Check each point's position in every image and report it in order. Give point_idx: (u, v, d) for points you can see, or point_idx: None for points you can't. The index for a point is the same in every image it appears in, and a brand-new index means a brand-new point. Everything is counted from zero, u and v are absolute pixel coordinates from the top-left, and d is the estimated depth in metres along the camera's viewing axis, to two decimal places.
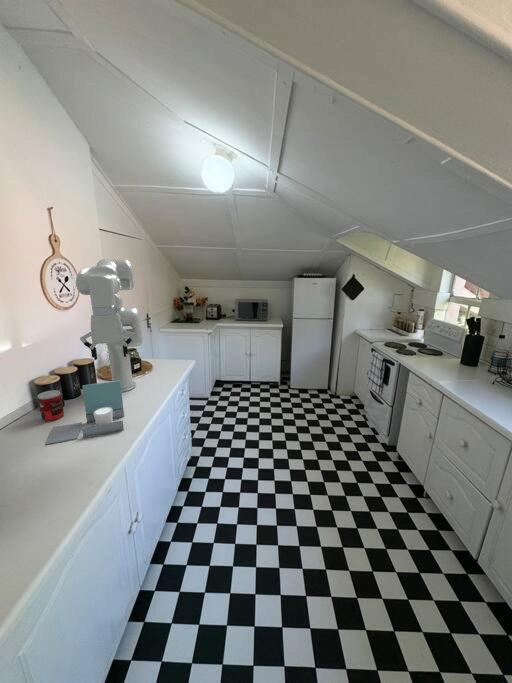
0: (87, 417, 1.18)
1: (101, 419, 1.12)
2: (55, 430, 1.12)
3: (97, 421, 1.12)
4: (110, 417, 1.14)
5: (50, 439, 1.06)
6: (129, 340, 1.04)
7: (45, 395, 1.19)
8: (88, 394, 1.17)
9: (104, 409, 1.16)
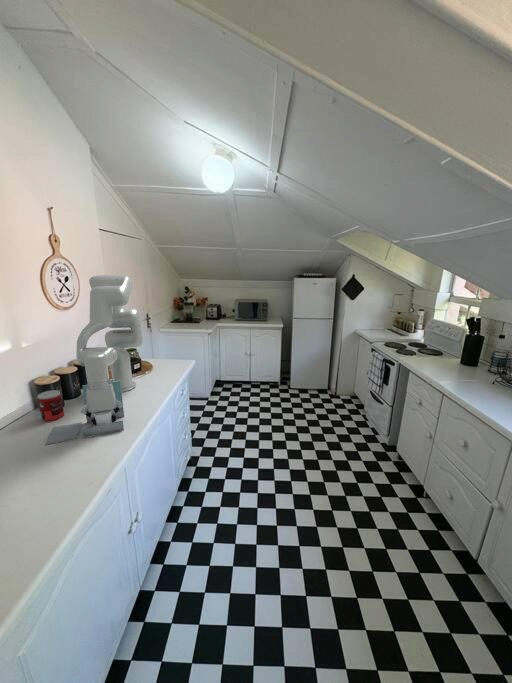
0: (87, 417, 1.18)
1: (101, 419, 1.12)
2: (55, 430, 1.12)
3: (97, 421, 1.12)
4: (110, 417, 1.14)
5: (50, 439, 1.06)
6: (117, 409, 1.16)
7: (45, 395, 1.19)
8: None
9: None
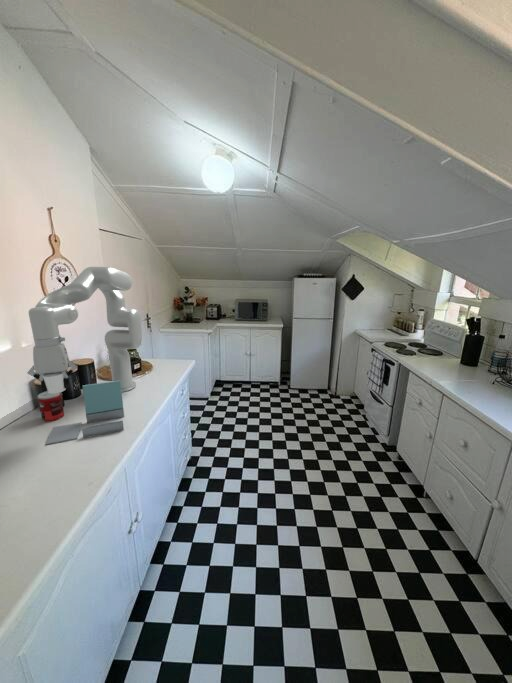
0: (87, 417, 1.18)
1: (51, 381, 1.02)
2: (55, 430, 1.12)
3: (46, 383, 1.02)
4: (62, 380, 1.04)
5: (50, 439, 1.06)
6: (70, 372, 1.06)
7: (45, 395, 1.19)
8: (88, 394, 1.17)
9: None
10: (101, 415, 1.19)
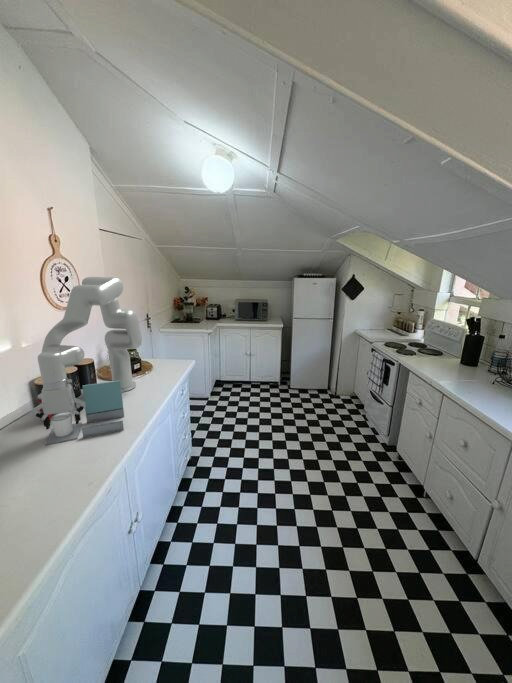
0: (87, 417, 1.18)
1: (58, 425, 1.07)
2: None
3: (54, 427, 1.07)
4: (69, 423, 1.09)
5: (50, 439, 1.06)
6: (81, 408, 1.10)
7: None
8: (88, 394, 1.17)
9: (63, 414, 1.10)
10: (101, 415, 1.19)
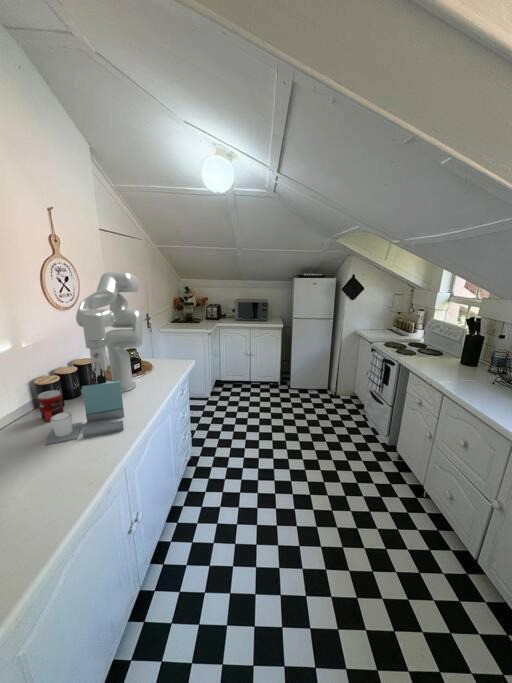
0: (87, 417, 1.18)
1: (58, 425, 1.07)
2: None
3: (54, 427, 1.07)
4: (69, 423, 1.09)
5: (50, 439, 1.06)
6: None
7: (45, 395, 1.19)
8: (88, 395, 1.16)
9: (63, 414, 1.10)
10: (101, 415, 1.19)
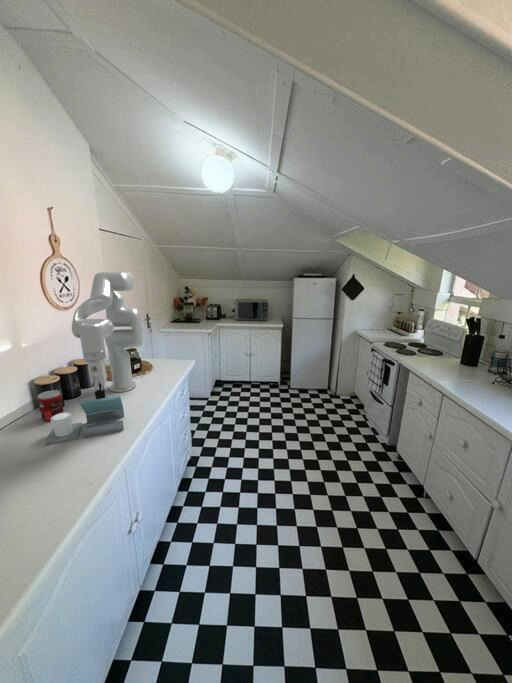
0: (87, 417, 1.18)
1: (58, 425, 1.07)
2: None
3: (54, 427, 1.07)
4: (69, 423, 1.09)
5: (50, 439, 1.06)
6: None
7: (45, 395, 1.19)
8: (86, 406, 1.12)
9: (63, 414, 1.10)
10: (101, 415, 1.19)
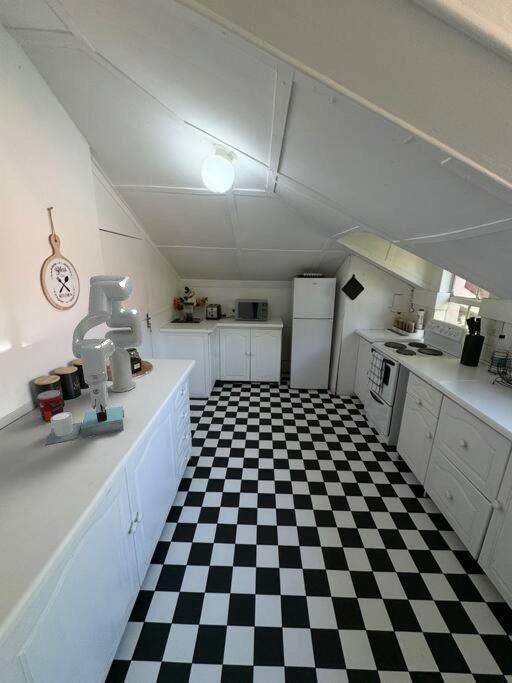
0: None
1: (58, 425, 1.07)
2: None
3: (54, 427, 1.07)
4: (69, 423, 1.09)
5: (50, 439, 1.06)
6: None
7: (45, 395, 1.19)
8: None
9: (63, 414, 1.10)
10: None
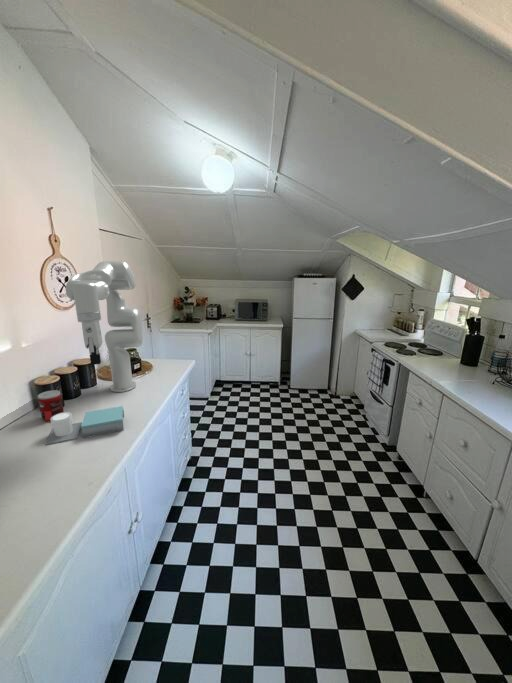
0: None
1: (58, 425, 1.07)
2: None
3: (54, 427, 1.07)
4: (69, 423, 1.09)
5: (50, 439, 1.06)
6: None
7: (45, 395, 1.19)
8: None
9: (63, 414, 1.10)
10: None
